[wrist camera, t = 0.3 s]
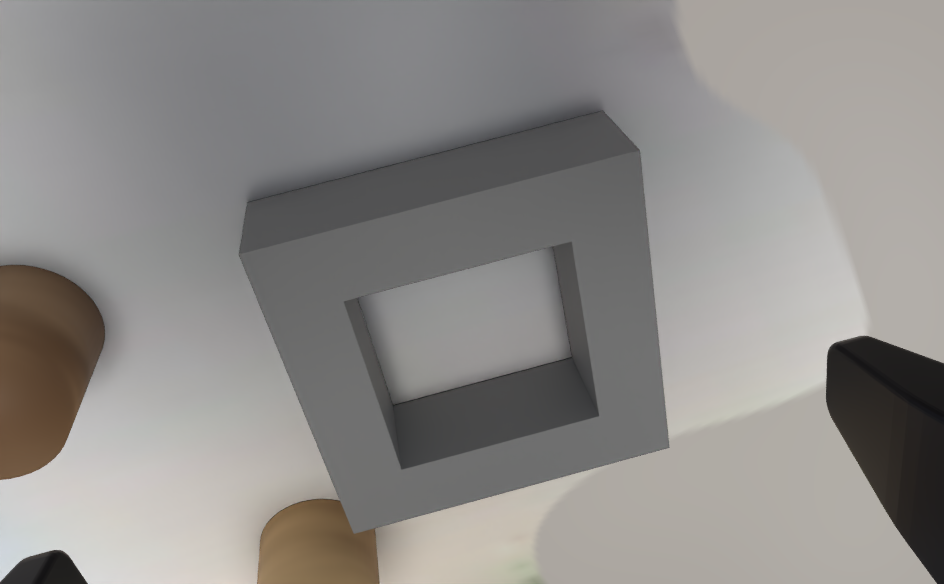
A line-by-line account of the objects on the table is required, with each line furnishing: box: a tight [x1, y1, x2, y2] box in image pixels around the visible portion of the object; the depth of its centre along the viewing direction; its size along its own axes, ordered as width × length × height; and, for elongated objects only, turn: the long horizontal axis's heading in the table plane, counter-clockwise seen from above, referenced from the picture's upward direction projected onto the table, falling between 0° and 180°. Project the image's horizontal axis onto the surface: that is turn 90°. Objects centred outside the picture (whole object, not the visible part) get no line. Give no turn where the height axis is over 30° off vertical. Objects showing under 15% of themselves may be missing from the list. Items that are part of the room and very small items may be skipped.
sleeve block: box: [239, 111, 669, 534], centre depth 24 cm, size 10×10×3 cm
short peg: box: [0, 265, 105, 480], centre depth 21 cm, size 4×4×4 cm
